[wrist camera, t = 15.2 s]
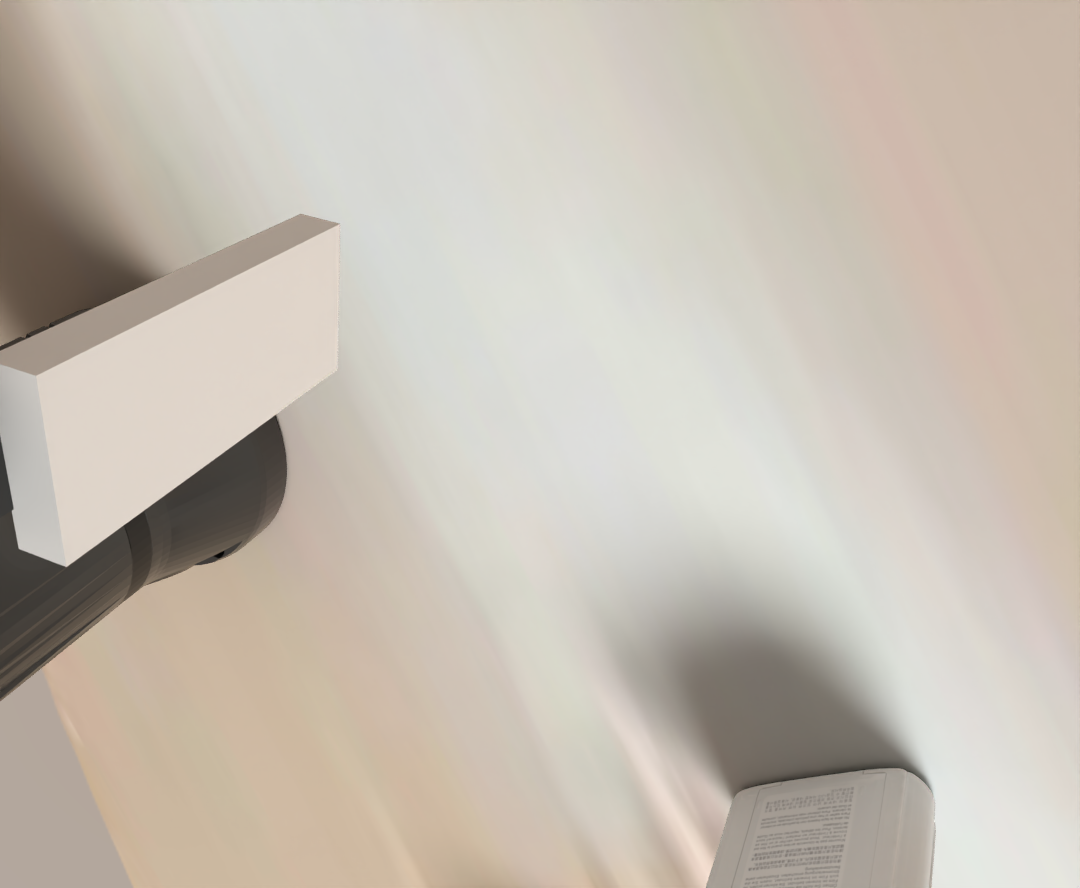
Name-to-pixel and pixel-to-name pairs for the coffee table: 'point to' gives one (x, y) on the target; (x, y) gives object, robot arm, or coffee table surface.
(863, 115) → the coffee table surface
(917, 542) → the coffee table surface
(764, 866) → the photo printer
